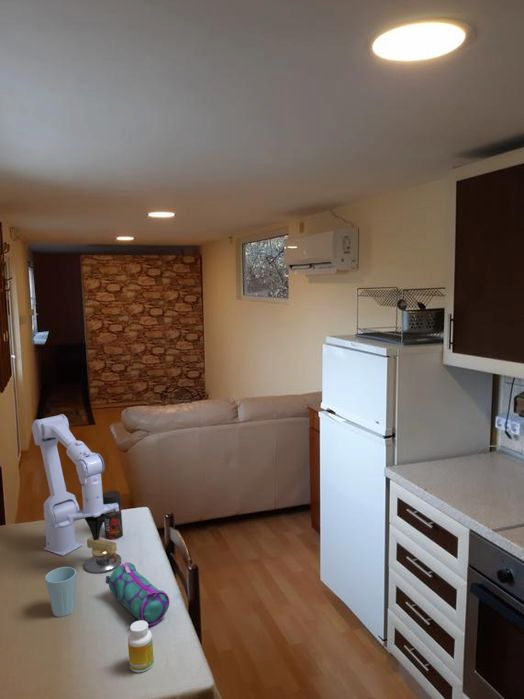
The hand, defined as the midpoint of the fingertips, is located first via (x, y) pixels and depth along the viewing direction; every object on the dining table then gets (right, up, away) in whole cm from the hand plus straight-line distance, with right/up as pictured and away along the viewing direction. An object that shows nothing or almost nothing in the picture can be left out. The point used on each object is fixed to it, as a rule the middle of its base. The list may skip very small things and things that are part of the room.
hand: (95, 538), depth 165 cm
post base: (+1, -10, +5) cm, 11 cm away
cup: (-3, -13, -18) cm, 23 cm away
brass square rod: (+1, -6, +5) cm, 8 cm away
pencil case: (+17, -13, -18) cm, 28 cm away
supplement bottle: (+22, -15, -39) cm, 48 cm away
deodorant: (-1, -7, +24) cm, 25 cm away
